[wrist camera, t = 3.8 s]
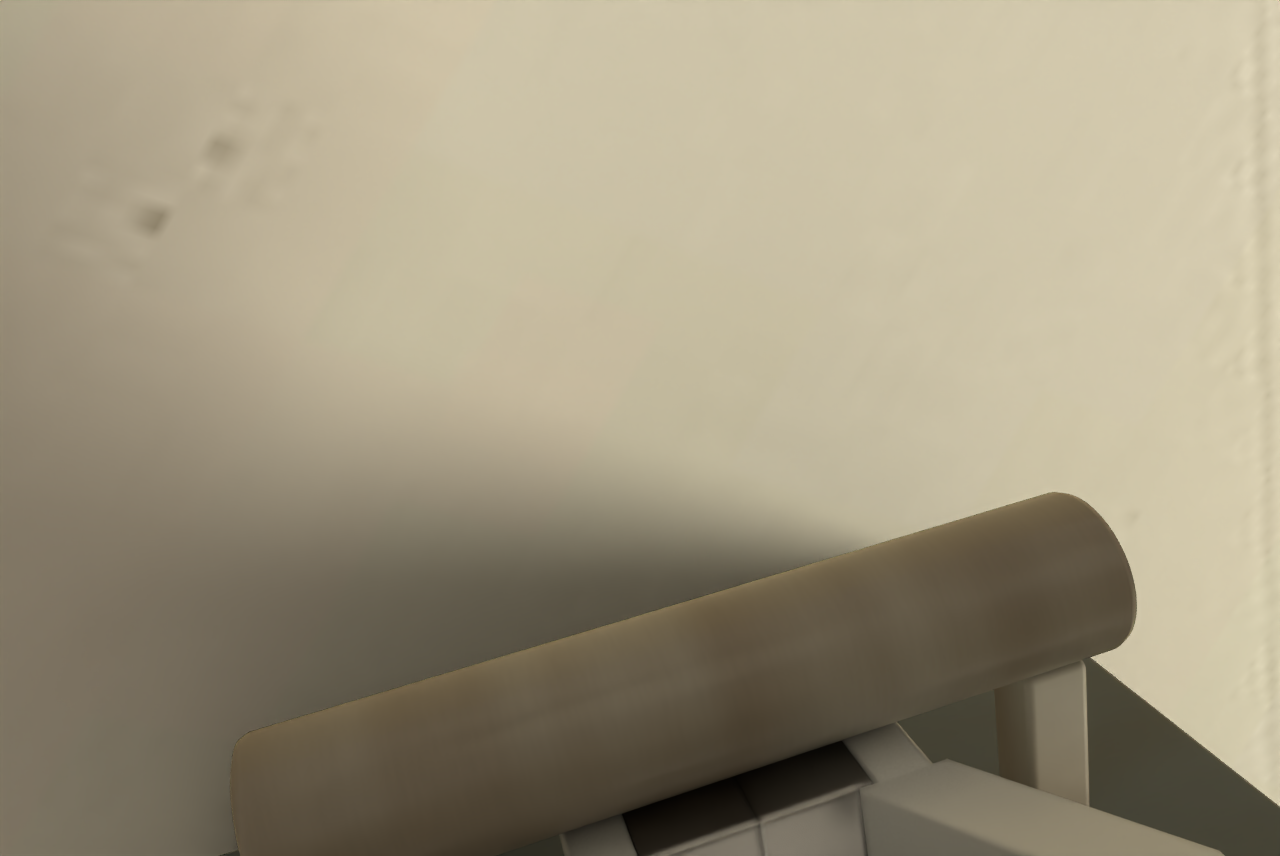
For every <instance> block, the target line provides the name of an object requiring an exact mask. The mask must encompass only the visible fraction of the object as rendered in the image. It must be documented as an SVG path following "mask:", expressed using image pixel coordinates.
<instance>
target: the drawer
mask: <svg viewBox="0 0 1280 856" xmlns="http://www.w3.org/2000/svg"><path fill="white" fill-rule="evenodd" d="M1136 611H1137V601H1136V591H1135V585H1134V580H1133V576H1132V573H1131V569H1130V566H1129V563H1128V561H1127V558H1126V556H1125V553H1124V551H1123V549H1122V547H1121V545H1120V543H1119V541H1118V540H1117V538H1116V536H1115V534H1114V533H1113V531H1112V530H1111V528H1110V527H1109V525H1108V524H1107V523H1106V522H1105V520H1104V519H1103V518H1102V517H1101V516H1100V515H1099V513H1098V512H1097V511H1096V510H1095V509H1094V508H1092V507H1091V506H1090V505H1089V504H1088V503H1086V502H1085V501H1083V500H1082V499H1080V498H1078V497H1076V496H1073V495H1070V494H1066V493H1058V492H1051V493H1046V494H1043V495H1040V496H1036V497H1033V498H1030V499H1026V500H1023V501H1020V502H1016V503H1013V504H1010V505H1006V506H1003V507H1000V508H996V509H993V510H990V511H986V512H983V513H980V514H976V515H973V516H970V517H966V518H963V519H959V520H956V521H953V522H949V523H946V524H943V525H939V526H936V527H933V528H929V529H926V530H923V531H919V532H916V533H913V534H909V535H906V536H903V537H899V538H896V539H893V540H889V541H886V542H883V543H879V544H876V545H873V546H869V547H866V548H863V549H859V550H856V551H852V552H849V553H846V554H842V555H839V556H836V557H832V558H829V559H826V560H822V561H819V562H816V563H812V564H809V565H806V566H802V567H799V568H796V569H792V570H789V571H786V572H782V573H779V574H776V575H772V576H769V577H766V578H762V579H759V580H756V581H752V582H749V583H745V584H742V585H739V586H735V587H732V588H729V589H725V590H722V591H719V592H715V593H712V594H709V595H705V596H702V597H699V598H695V599H692V600H689V601H685V602H682V603H679V604H675V605H672V606H669V607H665V608H662V609H659V610H655V611H652V612H648V613H645V614H642V615H638V616H635V617H632V618H628V619H625V620H622V621H618V622H615V623H612V624H608V625H605V626H602V627H598V628H595V629H592V630H588V631H585V632H582V633H578V634H575V635H572V636H568V637H565V638H562V639H558V640H555V641H552V642H548V643H545V644H541V645H538V646H535V647H531V648H528V649H525V650H521V651H518V652H515V653H511V654H508V655H505V656H501V657H498V658H495V659H491V660H488V661H485V662H481V663H478V664H475V665H471V666H468V667H465V668H461V669H458V670H455V671H451V672H448V673H445V674H441V675H438V676H434V677H431V678H428V679H424V680H421V681H418V682H414V683H411V684H408V685H404V686H401V687H398V688H394V689H391V690H388V691H384V692H381V693H378V694H374V695H371V696H368V697H364V698H361V699H358V700H354V701H351V702H348V703H344V704H341V705H337V706H334V707H331V708H327V709H324V710H321V711H317V712H314V713H311V714H307V715H304V716H301V717H297V718H294V719H291V720H287V721H284V722H281V723H277V724H274V725H271V726H267V727H264V728H261V729H257V730H254V731H251V732H248V733H247V734H246V735H244V736H243V737H242V738H240V739H239V740H238V741H237V743H236V744H235V747H234V751H233V755H232V763H231V772H230V794H231V807H232V816H233V823H234V829H235V835H236V840H237V845H238V849H239V850H235V851H232V852H229V853H226V854H223V855H220V856H565V855H564V852H563V848H562V844H561V840H560V836H559V834H562V833H565V832H568V831H571V830H574V829H577V828H580V827H583V826H586V825H589V824H592V823H595V822H598V821H601V820H604V819H607V818H610V817H613V816H616V815H619V814H622V813H625V812H628V811H631V810H634V809H637V808H640V807H643V806H646V805H649V804H652V803H655V802H658V801H661V800H664V799H667V798H670V797H673V796H676V795H679V794H682V793H685V792H688V791H691V790H694V789H697V788H700V787H703V786H706V785H709V784H712V783H715V782H718V781H721V780H724V779H727V778H730V777H733V776H736V775H739V774H742V773H745V772H748V771H751V770H754V769H757V768H760V767H763V766H766V765H769V764H772V763H775V762H778V761H781V760H784V759H787V758H790V757H793V756H796V755H799V754H802V753H805V752H808V751H811V750H814V749H817V748H820V747H823V746H826V745H829V744H832V743H835V742H838V741H841V740H844V739H847V738H850V737H853V736H856V735H859V734H862V733H865V732H868V731H871V730H874V729H877V728H880V727H883V726H886V725H889V724H892V723H895V722H897V723H898V724H899V725H900V726H901V727H902V728H903V730H904V731H905V732H906V733H907V734H908V735H909V737H910V738H911V739H912V740H913V741H914V742H915V744H916V745H917V746H918V747H919V748H920V749H921V751H922V752H923V753H924V754H925V755H926V756H927V758H928V759H929V760H930V761H931V762H932V763H936V762H939V761H942V760H945V759H949V760H952V761H955V762H958V763H961V764H964V765H967V766H970V767H973V768H976V769H979V770H982V771H985V772H988V773H991V774H994V775H997V776H1000V777H1003V778H1006V779H1009V780H1011V781H1014V782H1017V783H1020V784H1023V785H1026V786H1029V787H1032V788H1035V789H1038V790H1041V791H1044V792H1047V793H1050V794H1053V795H1056V796H1059V797H1062V798H1065V799H1068V800H1071V801H1074V802H1077V803H1080V804H1083V805H1085V806H1088V807H1091V808H1094V809H1097V810H1100V811H1103V812H1106V813H1109V814H1112V815H1115V816H1118V817H1121V818H1124V819H1127V820H1130V821H1133V822H1136V823H1139V824H1142V825H1145V826H1148V827H1151V828H1154V829H1156V830H1159V831H1162V832H1165V833H1168V834H1171V835H1174V836H1177V837H1180V838H1183V839H1186V840H1189V841H1192V842H1195V843H1198V844H1201V845H1204V846H1207V847H1210V848H1213V849H1216V850H1219V851H1220V852H1221V853H1222V854H1224V855H1225V856H1280V807H1279V806H1278V805H1277V804H1276V803H1274V802H1273V801H1272V800H1271V799H1269V798H1268V797H1267V796H1265V795H1264V794H1263V793H1262V792H1260V791H1259V790H1258V789H1257V788H1255V787H1254V786H1253V785H1251V784H1250V783H1249V782H1248V781H1246V780H1245V779H1244V778H1243V777H1241V776H1240V775H1239V774H1238V773H1236V772H1235V771H1234V770H1232V769H1231V768H1230V767H1229V766H1227V765H1226V764H1225V763H1224V762H1222V761H1221V760H1220V759H1218V758H1217V757H1216V756H1215V755H1213V754H1212V753H1211V752H1210V751H1208V750H1207V749H1206V748H1205V747H1203V746H1202V745H1201V744H1199V743H1198V742H1197V741H1196V740H1194V739H1193V738H1192V737H1191V736H1189V735H1188V734H1187V733H1185V732H1184V731H1183V730H1182V729H1180V728H1179V727H1178V726H1177V725H1175V724H1174V723H1173V722H1171V721H1170V720H1169V719H1168V718H1166V717H1165V716H1164V715H1163V714H1161V713H1160V712H1159V711H1158V710H1156V709H1155V708H1154V707H1152V706H1151V705H1150V704H1149V703H1147V702H1146V701H1145V700H1144V699H1142V698H1141V697H1140V696H1138V695H1137V694H1136V693H1135V692H1133V691H1132V690H1131V689H1130V688H1128V687H1127V686H1126V685H1125V684H1123V683H1122V682H1121V681H1119V680H1118V679H1117V678H1116V677H1114V676H1113V675H1112V674H1111V673H1109V672H1108V671H1107V670H1105V669H1104V668H1103V667H1102V666H1100V665H1099V664H1098V663H1097V662H1095V661H1094V660H1093V659H1091V658H1090V657H1092V656H1095V655H1098V654H1101V653H1104V652H1107V651H1110V650H1113V649H1116V648H1117V647H1119V646H1120V645H1121V644H1122V643H1123V642H1124V641H1125V640H1126V639H1127V638H1128V636H1129V635H1130V633H1131V631H1132V630H1133V627H1134V624H1135V619H1136Z"/></svg>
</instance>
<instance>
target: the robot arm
mask: <svg viewBox="0 0 1280 856" xmlns="http://www.w3.org/2000/svg"><path fill="white" fill-rule="evenodd" d="M559 836H560V840H561V844H562V848H563V852H564V855H565V856H1225V855H1224V854H1222V853H1221V852H1220V851H1219V850H1216V849H1213V848H1210V847H1207V846H1204V845H1201V844H1198V843H1195V842H1192V841H1189V840H1186V839H1183V838H1180V837H1177V836H1174V835H1171V834H1168V833H1165V832H1162V831H1159V830H1156V829H1154V828H1151V827H1148V826H1145V825H1142V824H1139V823H1136V822H1133V821H1130V820H1127V819H1124V818H1121V817H1118V816H1115V815H1112V814H1109V813H1106V812H1103V811H1100V810H1097V809H1094V808H1091V807H1088V806H1085V805H1083V804H1080V803H1077V802H1074V801H1071V800H1068V799H1065V798H1062V797H1059V796H1056V795H1053V794H1050V793H1047V792H1044V791H1041V790H1038V789H1035V788H1032V787H1029V786H1026V785H1023V784H1020V783H1017V782H1014V781H1011V780H1009V779H1006V778H1003V777H1000V776H997V775H994V774H991V773H988V772H985V771H982V770H979V769H976V768H973V767H970V766H967V765H964V764H961V763H958V762H955V761H952V760H949V759H945V760H942V761H939V762H936V763H932V762H931V761H930V760H929V759H928V758H927V756H926V755H925V754H924V753H923V752H922V751H921V749H920V748H919V747H918V746H917V745H916V744H915V742H914V741H913V740H912V739H911V738H910V737H909V735H908V734H907V733H906V732H905V731H904V730H903V728H902V727H901V726H900V725H899V724H898V723H897V722H895V723H892V724H889V725H886V726H883V727H880V728H877V729H874V730H871V731H868V732H865V733H862V734H859V735H856V736H853V737H850V738H847V739H844V740H841V741H838V742H835V743H832V744H829V745H826V746H823V747H820V748H817V749H814V750H811V751H808V752H805V753H802V754H799V755H796V756H793V757H790V758H787V759H784V760H781V761H778V762H775V763H772V764H769V765H766V766H763V767H760V768H757V769H754V770H751V771H748V772H745V773H742V774H739V775H736V776H733V777H730V778H727V779H724V780H721V781H718V782H715V783H712V784H709V785H706V786H703V787H700V788H697V789H694V790H691V791H688V792H685V793H682V794H679V795H676V796H673V797H670V798H667V799H664V800H661V801H658V802H655V803H652V804H649V805H646V806H643V807H640V808H637V809H634V810H631V811H628V812H625V813H622V814H619V815H616V816H613V817H610V818H607V819H604V820H601V821H598V822H595V823H592V824H589V825H586V826H583V827H580V828H577V829H574V830H571V831H568V832H565V833H562V834H559Z"/></svg>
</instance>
